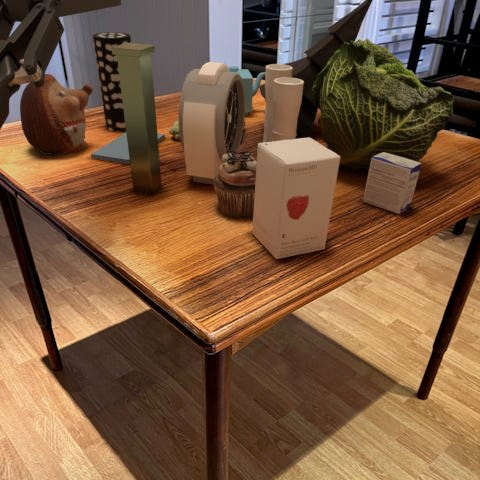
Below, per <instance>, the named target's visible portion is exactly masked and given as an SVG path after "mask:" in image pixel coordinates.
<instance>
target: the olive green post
mask: <svg viewBox="0 0 480 480" xmlns="http://www.w3.org/2000/svg"><path fill="white" fill-rule="evenodd" d="M155 52H156V47H155V45H154V44H146V43H135V42H131V43H124V44H121V45H118V46H115V47H112V54H113V55H117V60H118V68H119V77H120V85H121V93H122V101H123V109H124V118H125V126H126V132H125V133H126V134H127V142H128V150H129V158H130V164H129V167H130V175H131V182H132V190H133V193H138V194H145V195H149V196H153V195H155V194H156V193H158V191H159V190H160V189H161V188H162V187H163V184H162V173H161V160H160V148H159V147H160V146H159V143H158V135H157V133H158V123H157V112H156V99H155V88H154V75H153V73H154V72H153V63H152V54H153V53H155Z"/></svg>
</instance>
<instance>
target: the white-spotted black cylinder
mask: <svg viewBox="0 0 480 480" xmlns="http://www.w3.org/2000/svg"><path fill="white" fill-rule="evenodd" d="M92 41H93V46H94V47H93V48H94V53H95V60H96V67H97V74H98V79H99V80H98V81H99V88H100V94H101V102H102V107H103V115H104V121H105V128H106V130H108V131H110V132H117V133H126V126H125V118H124V109H123V101H122V93H121V85H120V77H119V68H118V60H117V55H113V54H112V47H115V46H118V45H121V44H124V43H132V36H131V34H129V33H126V32H117V31H116V32H115V31H113V32H112V31H111V32H110V31H109V32H108V31H107V32H106V31H105V32H96V33H94V34H92Z"/></svg>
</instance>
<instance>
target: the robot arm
mask: <svg viewBox="0 0 480 480" xmlns="http://www.w3.org/2000/svg"><path fill="white" fill-rule="evenodd" d="M32 2H33V4H34V7H33V9H32V10H31V11H30V12H29V13H28V15H27V16H26V17H25V18H24V19H23V21H22V22H19V24H18V25H17V26H16V28H15V29H14V30H13V28H14V26H15V23H16V21H10V18H9V13H8V9H7V5H6V1H5V0H0V130H2V128H3V126H4V124H5V122H6V121H7V119H8V117H9V115H10V100H11V98H12V96H13V95H15V94H16V93H17V92H18V91H20V89H21V85H25V84H29V83H30V82H33V84H34V85H35V86H36V87H42V86H43V85H44V84H45V74H46V71H47V69H48V67H49V65H50V62H51V60H52V58H53V56H54V54H55V51H56V49H57V47H58V45H59V42H61V39H62V36H63V34H64V32H65V26H64V25H63V23H62V21H61V19H60V17H58V15H57V12H58V10H59V8H60V6H61V5H62V3H63V0H32ZM12 31H13V32H12Z"/></svg>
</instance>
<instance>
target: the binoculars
mask: <svg viewBox="0 0 480 480" xmlns="http://www.w3.org/2000/svg"><path fill="white" fill-rule="evenodd" d="M292 69H293V68H292V67H291V66H288V65H285V64H280V63H271V64H267V65H265V72H266V73H265V76H264V84H265V95H266V101H265V110H264V113H263V114H264V123H263V139H262V143H264V142H273V141H280V140H291V139H297V138H296V137H297V118H298V115H299V110H300V106H301V102H302V92H303V83H304V81H303V80H301V79H297V78H292Z"/></svg>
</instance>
